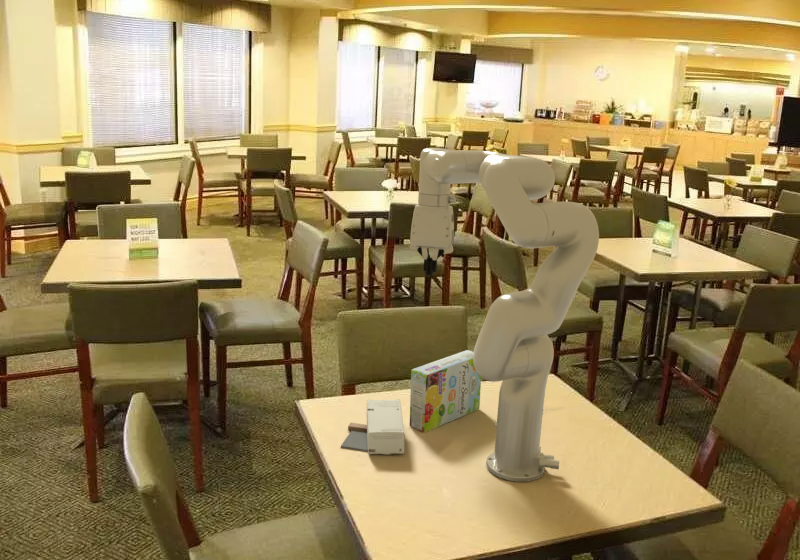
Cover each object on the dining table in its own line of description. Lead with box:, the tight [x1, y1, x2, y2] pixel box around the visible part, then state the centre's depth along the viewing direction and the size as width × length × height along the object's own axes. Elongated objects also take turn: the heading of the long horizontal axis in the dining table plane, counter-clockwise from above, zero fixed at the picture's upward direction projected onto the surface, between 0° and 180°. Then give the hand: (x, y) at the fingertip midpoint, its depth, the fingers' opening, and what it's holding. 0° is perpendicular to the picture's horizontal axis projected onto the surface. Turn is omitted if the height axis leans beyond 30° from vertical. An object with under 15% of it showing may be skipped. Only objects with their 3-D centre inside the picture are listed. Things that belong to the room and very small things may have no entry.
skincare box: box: [366, 398, 405, 455], centre depth 172 cm, size 8×6×15 cm
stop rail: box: [347, 422, 367, 432], centre depth 177 cm, size 12×2×1 cm, turn 76°
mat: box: [340, 430, 394, 456], centre depth 172 cm, size 12×8×1 cm
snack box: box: [409, 349, 482, 434], centre depth 185 cm, size 21×6×15 cm, turn 136°
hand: (429, 274), depth 184 cm, fingers closed
